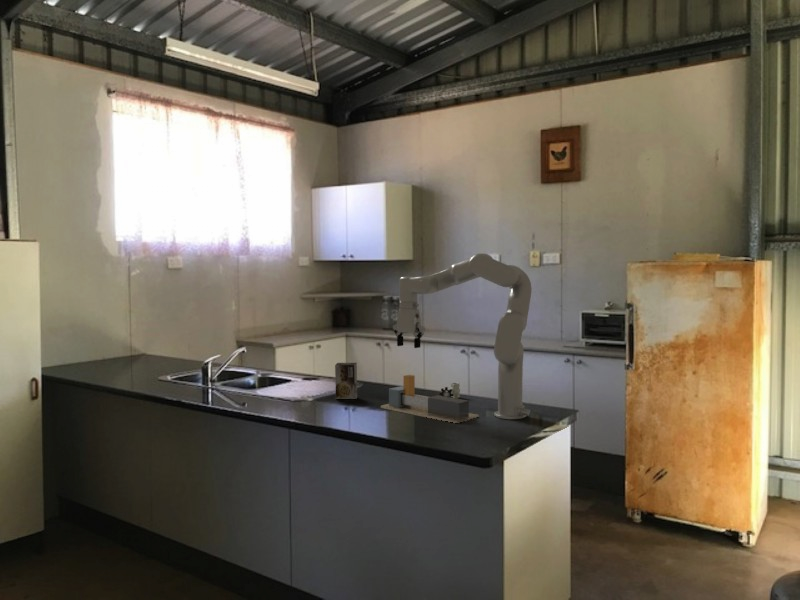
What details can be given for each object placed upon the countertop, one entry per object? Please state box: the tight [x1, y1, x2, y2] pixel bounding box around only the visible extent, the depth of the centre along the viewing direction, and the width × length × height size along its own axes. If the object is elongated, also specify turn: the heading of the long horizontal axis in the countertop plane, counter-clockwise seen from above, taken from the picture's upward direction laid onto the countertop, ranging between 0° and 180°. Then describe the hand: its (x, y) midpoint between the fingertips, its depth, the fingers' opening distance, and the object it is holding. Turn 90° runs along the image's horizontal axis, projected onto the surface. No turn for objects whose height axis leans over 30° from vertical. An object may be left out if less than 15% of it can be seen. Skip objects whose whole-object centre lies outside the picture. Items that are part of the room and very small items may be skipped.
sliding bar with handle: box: [401, 374, 429, 409], centre depth 266 cm, size 23×4×12 cm, turn 47°
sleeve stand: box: [380, 394, 480, 424], centre depth 262 cm, size 41×14×7 cm, turn 47°
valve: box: [439, 382, 461, 399], centre depth 288 cm, size 7×7×12 cm
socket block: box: [388, 385, 405, 407], centre depth 273 cm, size 6×8×7 cm
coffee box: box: [334, 362, 358, 400], centre depth 290 cm, size 9×6×16 cm
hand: (408, 346), depth 268 cm, fingers open, 9 cm apart
